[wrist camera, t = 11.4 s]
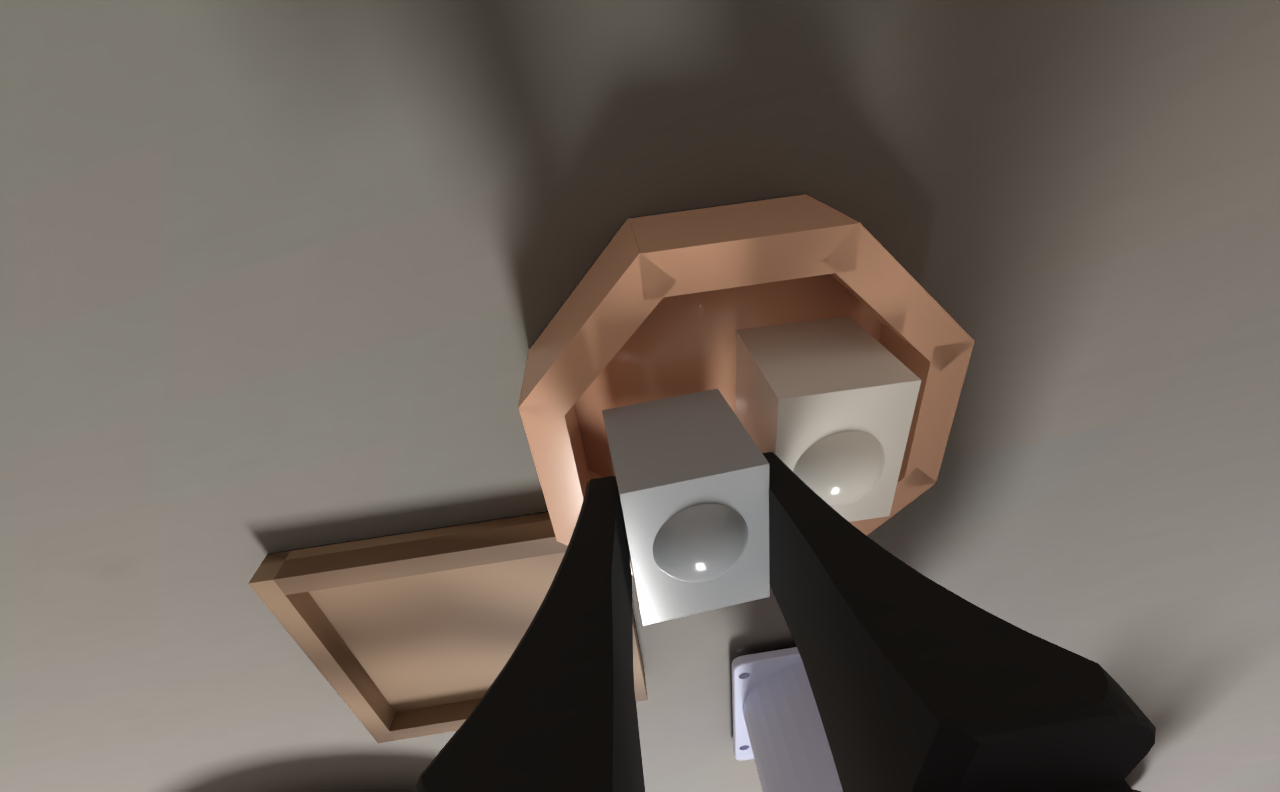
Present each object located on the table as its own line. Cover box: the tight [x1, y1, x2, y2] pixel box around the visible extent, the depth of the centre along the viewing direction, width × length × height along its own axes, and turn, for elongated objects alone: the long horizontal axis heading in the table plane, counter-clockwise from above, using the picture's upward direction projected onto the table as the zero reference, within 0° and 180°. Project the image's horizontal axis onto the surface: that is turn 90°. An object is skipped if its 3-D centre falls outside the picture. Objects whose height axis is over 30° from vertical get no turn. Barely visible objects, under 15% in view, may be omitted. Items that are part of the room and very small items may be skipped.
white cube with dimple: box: [602, 389, 770, 626], centre depth 12 cm, size 4×3×4 cm
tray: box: [248, 512, 647, 743], centre depth 20 cm, size 11×12×1 cm
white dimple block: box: [736, 316, 921, 522], centre depth 14 cm, size 4×3×4 cm
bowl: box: [518, 194, 975, 575], centre depth 15 cm, size 11×11×3 cm
